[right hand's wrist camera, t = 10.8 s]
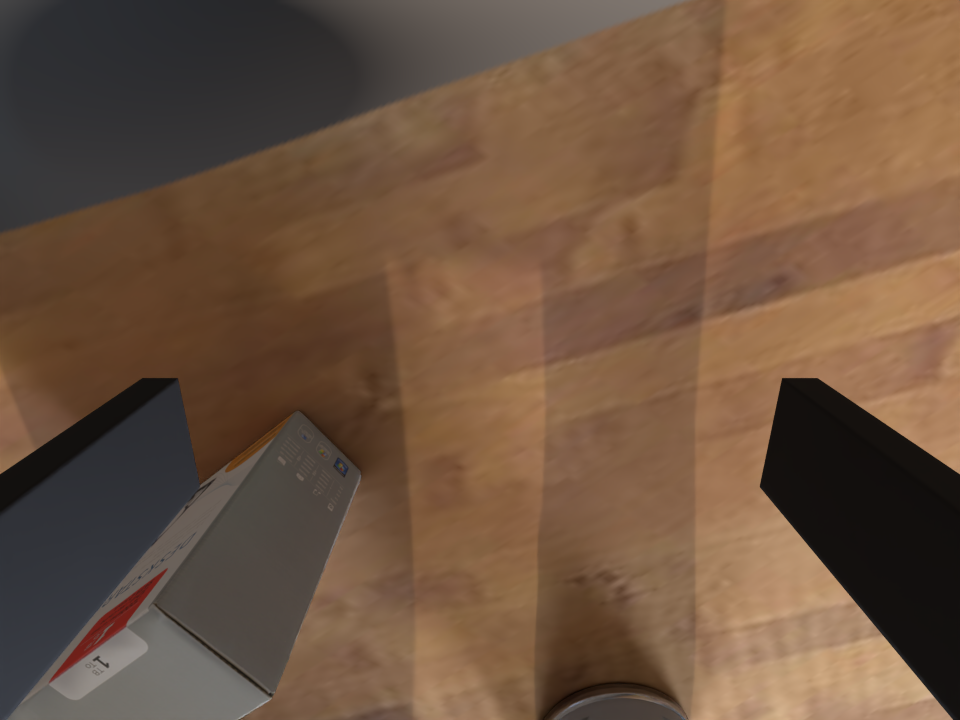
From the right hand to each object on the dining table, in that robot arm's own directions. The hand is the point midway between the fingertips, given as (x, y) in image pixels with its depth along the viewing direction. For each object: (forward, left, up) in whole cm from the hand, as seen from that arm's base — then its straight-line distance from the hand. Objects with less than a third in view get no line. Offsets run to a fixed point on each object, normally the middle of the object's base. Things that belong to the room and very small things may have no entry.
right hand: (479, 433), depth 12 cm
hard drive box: (-20, +18, -28) cm, 39 cm away
